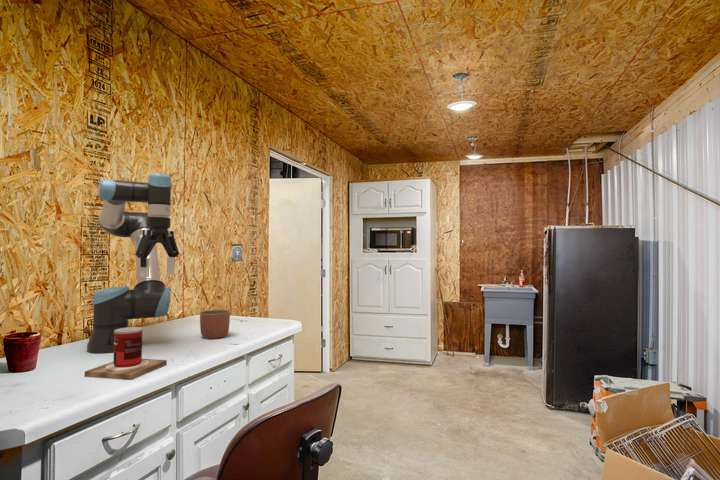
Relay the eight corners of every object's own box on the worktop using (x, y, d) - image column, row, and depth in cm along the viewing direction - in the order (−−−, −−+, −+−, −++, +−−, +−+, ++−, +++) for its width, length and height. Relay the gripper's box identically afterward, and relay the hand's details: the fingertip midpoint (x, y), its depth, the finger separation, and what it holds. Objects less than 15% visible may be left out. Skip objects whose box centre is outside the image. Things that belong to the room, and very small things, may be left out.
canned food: (121, 360, 133) (122, 327, 133) (146, 360, 133) (147, 327, 133) (107, 367, 125) (108, 331, 126) (134, 367, 126) (134, 331, 126)
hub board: (84, 376, 123) (84, 370, 123) (124, 361, 139) (124, 356, 139) (131, 379, 120) (131, 373, 120) (166, 364, 136) (166, 358, 136)
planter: (230, 338, 175) (231, 313, 175) (199, 341, 170) (200, 314, 170) (228, 333, 186) (229, 309, 186) (199, 335, 182) (199, 310, 182)
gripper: (144, 214, 135) (142, 278, 135) (189, 219, 160) (188, 273, 160) (124, 214, 137) (123, 277, 136) (172, 219, 161) (171, 273, 161)
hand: (158, 275), depth 148 cm, fingers open, 13 cm apart
